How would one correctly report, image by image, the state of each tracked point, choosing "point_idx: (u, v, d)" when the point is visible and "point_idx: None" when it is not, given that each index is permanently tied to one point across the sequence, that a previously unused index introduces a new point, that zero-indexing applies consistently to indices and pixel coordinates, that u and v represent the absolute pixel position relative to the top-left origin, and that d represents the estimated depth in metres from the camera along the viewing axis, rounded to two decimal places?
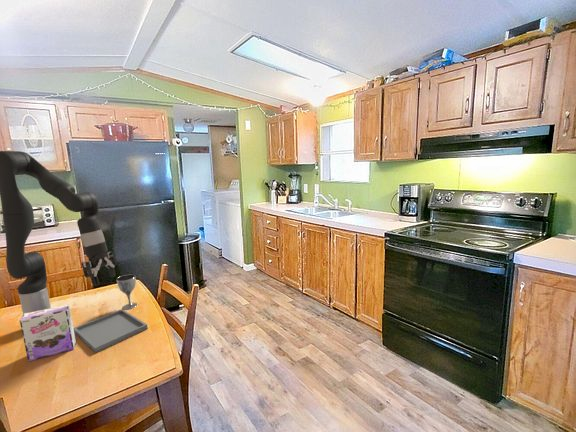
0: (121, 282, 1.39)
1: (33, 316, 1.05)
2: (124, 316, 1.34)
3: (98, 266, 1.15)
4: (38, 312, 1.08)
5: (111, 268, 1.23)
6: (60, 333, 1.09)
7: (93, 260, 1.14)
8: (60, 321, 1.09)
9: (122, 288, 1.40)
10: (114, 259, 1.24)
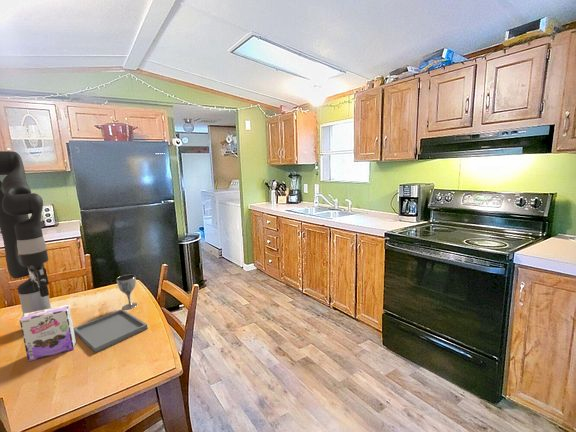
0: (121, 282, 1.39)
1: (33, 316, 1.05)
2: (124, 316, 1.34)
3: (29, 274, 1.06)
4: (38, 312, 1.08)
5: None
6: (60, 333, 1.09)
7: (30, 266, 1.07)
8: (60, 321, 1.09)
9: (122, 288, 1.40)
10: (38, 280, 1.01)
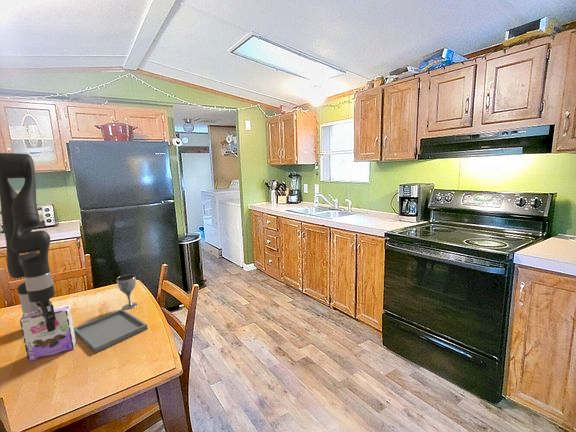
0: (121, 282, 1.39)
1: (33, 316, 1.05)
2: (124, 316, 1.34)
3: (37, 309, 1.09)
4: (38, 312, 1.08)
5: None
6: (60, 332, 1.09)
7: None
8: (60, 321, 1.09)
9: (122, 288, 1.40)
10: (45, 316, 1.04)
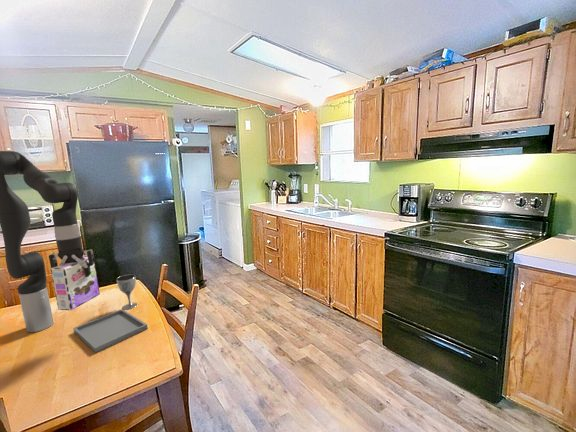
0: (121, 282, 1.39)
1: (71, 265, 1.09)
2: (124, 316, 1.34)
3: (62, 262, 1.10)
4: (67, 263, 1.11)
5: None
6: (91, 279, 1.17)
7: (59, 254, 1.10)
8: (90, 268, 1.17)
9: (122, 288, 1.40)
10: (89, 259, 1.13)
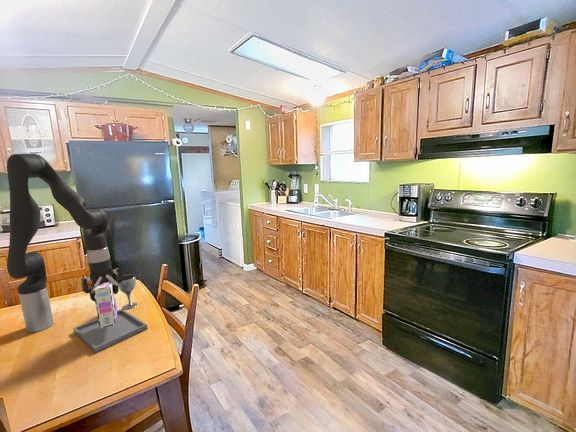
0: (121, 282, 1.39)
1: (109, 283, 1.19)
2: (124, 316, 1.34)
3: (96, 283, 1.17)
4: (101, 284, 1.18)
5: (114, 285, 1.23)
6: (114, 296, 1.26)
7: (92, 277, 1.16)
8: None
9: (122, 288, 1.40)
10: (119, 277, 1.24)
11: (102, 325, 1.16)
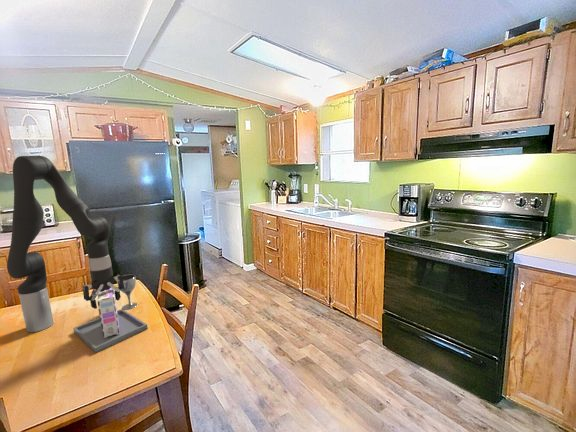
0: None
1: (112, 293, 1.20)
2: (124, 316, 1.34)
3: (98, 291, 1.18)
4: (104, 294, 1.20)
5: (116, 292, 1.24)
6: (116, 306, 1.28)
7: (94, 285, 1.17)
8: None
9: None
10: (121, 283, 1.25)
11: (106, 335, 1.17)
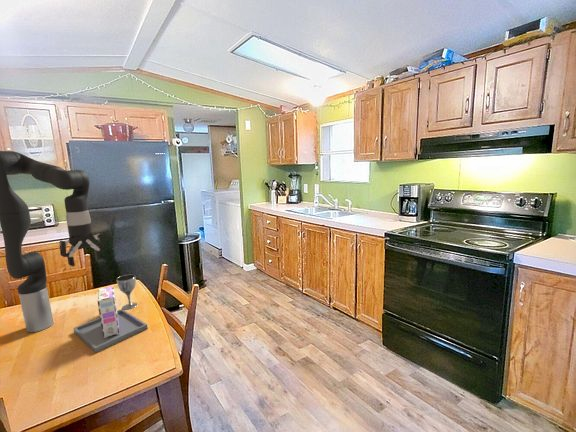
0: (121, 282, 1.39)
1: (112, 293, 1.20)
2: (124, 316, 1.34)
3: (75, 247, 1.12)
4: (104, 294, 1.20)
5: (96, 251, 1.19)
6: (116, 306, 1.28)
7: (71, 241, 1.11)
8: None
9: (122, 288, 1.40)
10: (101, 242, 1.20)
11: (106, 335, 1.17)
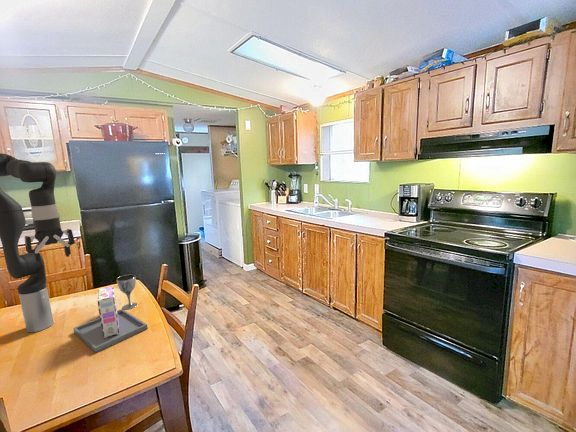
0: (121, 282, 1.39)
1: (112, 293, 1.20)
2: (124, 316, 1.34)
3: (42, 243, 1.07)
4: (104, 294, 1.20)
5: (65, 247, 1.14)
6: (116, 306, 1.28)
7: (37, 236, 1.07)
8: None
9: (122, 288, 1.40)
10: (71, 238, 1.15)
11: (106, 335, 1.17)
